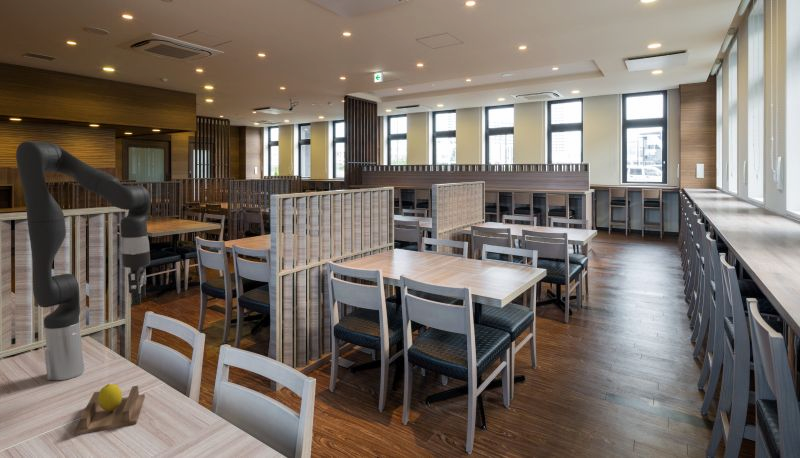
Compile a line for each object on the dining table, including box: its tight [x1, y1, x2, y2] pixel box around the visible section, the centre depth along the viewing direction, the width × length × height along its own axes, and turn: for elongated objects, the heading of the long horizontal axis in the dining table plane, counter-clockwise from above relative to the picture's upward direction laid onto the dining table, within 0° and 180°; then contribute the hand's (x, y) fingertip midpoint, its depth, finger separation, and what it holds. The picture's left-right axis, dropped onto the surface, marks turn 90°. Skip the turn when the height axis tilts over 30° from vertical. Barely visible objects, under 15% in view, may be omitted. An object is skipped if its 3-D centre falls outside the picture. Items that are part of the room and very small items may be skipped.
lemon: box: [98, 383, 123, 411], centre depth 125 cm, size 6×6×8 cm
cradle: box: [73, 385, 146, 436], centre depth 126 cm, size 14×15×4 cm
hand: (139, 301), depth 144 cm, fingers open, 8 cm apart
